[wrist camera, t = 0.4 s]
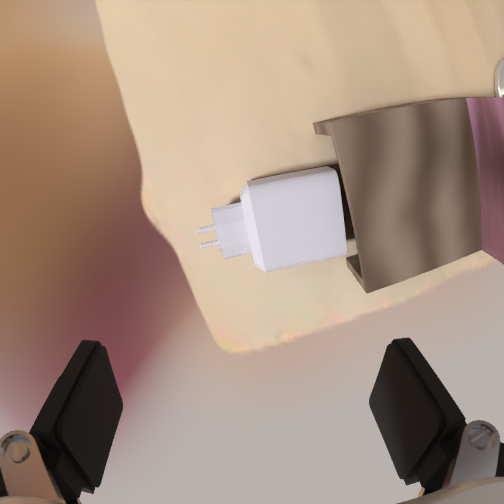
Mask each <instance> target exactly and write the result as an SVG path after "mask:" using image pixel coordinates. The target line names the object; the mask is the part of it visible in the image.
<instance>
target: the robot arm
mask: <svg viewBox="0 0 504 504" xmlns="http://www.w3.org/2000/svg"><path fill="white" fill-rule="evenodd" d="M495 93H496V97H504V58H502V59H501V60H500V62H499V63H498V66H497V68H496V73H495ZM369 405H370V408H371V411H372V413H373V415H374V418H375V420H376V422H377V425H378V427H379V429H380V432H381V434H382V437H383V439H384V441H385V444H386V446H387V449H388V451H389V454H390V456H391V459H392V461H393V464H394V466H395V469H396V471H397V474H398V476H399V478H400V479H404V481H405V483H406V485H410V484H413V483H416V482H419V481H420V483H421V486H422V488H421V490H420V493H419V495H418V498H415V499H411V500H408V501H405V502H402V503H398V504H504V443H501V442H500V435H499V433H498V431H497V430H496V428H495V427H494V426H493V425H492V424H490V423H488V422H486V421H482V420H476V421H472V422H470V423H469V424H468V425H467V424H466V422H465V419H466V418H465V417H464V415H463V414H462V412H461V411H460V409H459V408H458V406H457V405H456V403H455V401H454V400H453V398H452V397H451V396H450V394H449V393H448V391H447V389H446V388H445V387H444V385H443V384H442V382H441V381H440V379H439V378H438V377H437V375H436V374H435V372H434V371H433V369H432V368H431V366H430V365H429V364H428V362H427V361H426V359H425V358H424V357H423V355H422V354H421V352H420V351H419V349H418V348H417V347H416V345H415V344H414V343H413V341H412V340H411V339H410V338H401V339H394V340H393V341H392V342H391V344H389V345H388V346H387V348H386V352H385V355H384V358H383V361H382V364H381V367H380V370H379V373H378V376H377V379H376V382H375V385H374V387H373V390H372V393H371V396H370V399H369ZM122 410H123V402H122V398H121V395H120V393H119V390H118V387H117V384H116V380H115V377H114V374H113V371H112V367H111V364H110V361H109V357H108V354H107V350H106V348H105V347H104V346H102V345H101V343H100V342H99V341H91V340H82V341H81V343H80V345H79V346H78V348H77V349H76V351H75V353H74V354H73V356H72V358H71V359H70V361H69V363H68V365H67V366H66V368H65V370H64V371H63V373H62V375H61V376H60V377H59V378H58V380H57V382H56V383H55V385H54V387H53V389H52V390H51V393H50V394H49V396H48V398H47V400H46V402H45V403H44V405H43V407H42V409H41V411H40V413H39V415H38V416H37V418H36V420H35V422H34V425H33V426H32V428H31V430H30V432H29V433H28V432H25V431H23V430H14V431H10V432H8V433H6V434H5V435H4V436H3V437H2V438H1V439H0V504H82V503H81V502H80V500H79V497H80V494H81V491H84V492H87V493H91V494H93V493H94V490H95V487H99V486H100V484H101V480H102V477H103V473H104V470H105V466H106V463H107V459H108V456H109V452H110V449H111V446H112V442H113V439H114V435H115V432H116V429H117V426H118V423H119V419H120V416H121V413H122Z"/></svg>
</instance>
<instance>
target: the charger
mask: <svg viewBox="0 0 504 504" xmlns="http://www.w3.org/2000/svg"><path fill="white" fill-rule="evenodd" d="M240 199H241V202H240V203H235V204H230V205H226V206H221V207H216V208H212V216H213V221H214V225H211V226H206V227H202V228H197V229H196V232H197V233H202V232H207V231H211V230H215V231H216V235H217V239H218V240H216V241H211V242H206V243H202V244H200V247H201V248H206V247H211V246H216V245H219V247H220V250H221V253H222V255H223V258H224V259H226V258H231V257H236V256H241V255H246V254H251V253H252V254H253V259H254V263H255V266H257V267H258V268H260V269H262V270H263V271H265V272H269V271H274V270H279V269H284V268H289V267H294V266H299V265H303V264H308V263H313V262H318V261H322V260H327V259H332V258H337V257H341V256H346V254H347V245H346V235H345V225H344V216H343V208H342V200H341V192H340V185H339V180H338V176H337V173H336V170H334V169H332V168H330V167H328V166H325V167H319V168H313V169H308V170H302V171H296V172H291V173H286V174H280V175H275V176H270V177H265V178H260V179H255V180H250V181H247V182H246V184H245V185H244V187H243V188H242V190H241V191H240Z"/></svg>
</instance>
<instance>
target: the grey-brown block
mask: <svg viewBox="0 0 504 504" xmlns="http://www.w3.org/2000/svg"><path fill="white" fill-rule="evenodd" d="M313 125H314V129H315V132H316V134H322V135H331V136H332V140H333V144H334V147H335V151H336V155H337V159H338V163H339V167H340V171H341V175H342V179H343V183H344V188H345V192H346V196H347V201H348V205H349V210H350V215H351V220H352V224H353V229H354V234H355V240H356V245H357V250H358V254H357V255H354V256H351V257H348V258H346V261H347V266H348V268H349V269H350V271H351V272H352V273H353V275H354V276H355V278H356V279H357V280H358V282H359V283H360V285H361V286H362V288H363V289H364V290H365V292H366V293H370V292H373V291H376V290H378V289H381V288H384V287H387V286H390V285H393V284H395V283H398V282H401V281H404V280H406V279H409V278H412V277H414V276H417V275H420V274H422V273H425V272H428V271H430V270H433V269H435V268H438V267H440V266H443V265H446V264H448V263H451V262H453V261H456V260H458V259H460V258H463V257H465V256H468V255H470V254H472V253H475V252H477V251H480V250H483V251H484V252H486V253H487V254H489V255H490V256H492V257H494V258H495V259H497V260H498V261H499V262H501V263H502V264H504V97H466V98H444V99H434V100H427V101H421V102H414V103H408V104H402V105H396V106H391V107H385V108H380V109H375V110H370V111H365V112H360V113H355V114H351V115H346V116H342V117H337V118H333V119H329V120H325V121H321V122H317V123H313Z"/></svg>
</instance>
